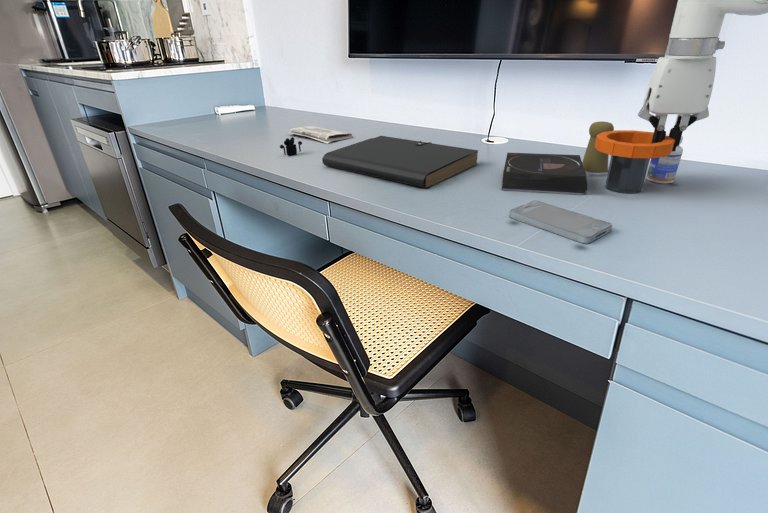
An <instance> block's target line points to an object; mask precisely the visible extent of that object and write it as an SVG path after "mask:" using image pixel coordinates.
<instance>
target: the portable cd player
mask: <svg viewBox="0 0 768 513" xmlns="http://www.w3.org/2000/svg"><path fill="white" fill-rule="evenodd" d="M582 162H583V160H582V158H581V155H580V154H561V153H560V154H559V153H557V154H555V153H534V152H533V153H529V152H507V153H506V157H505V162H504V168H503V173H502V181H501V182H502V183H501V191H511V192H512V191H513V192H527V193H529V192H530V193H544V194H545V193H546V194H559V195H561V194H562V195H578V196H579V195H580V196H583V195H585V193H586V192H587V191H588V175H587V173H586V171H585V170H584V167H583V164H582Z"/></svg>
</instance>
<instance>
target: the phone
mask: <svg viewBox="0 0 768 513" xmlns="http://www.w3.org/2000/svg"><path fill="white" fill-rule="evenodd" d="M509 218H510V219H513V220H516V221H518V222H521V223H525V224H527V225H530V226H532V227H536V228H538V229H541V230H543V231H547V232H549V233H552V234H555V235H558V236H561V237H564V238H566V239H568V240H569V239H570V240H572V241H575V242H577V243H581V244H585V245H588V244H591V243H593V242H595V241H596V240H598V239H600V238H602V237H603V236H605V235H608V234H609V233H611V231H612V229H613V223H611V222H609V221H606V220H601V219H600V218H599V219H598V218H595V217H592V216H589V215H587V214H582V213H579V212H575V211H573V210H569V209H567V208H566V209H565V208H562V207H560V206H556V205H553V204H549V203H546V202H543V201H539V200H532V201H529V202H526V203H523V204H521V205H519V206H517V207H513V208H511V209H510V210H509Z"/></svg>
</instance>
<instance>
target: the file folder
mask: <svg viewBox="0 0 768 513" xmlns="http://www.w3.org/2000/svg"><path fill="white" fill-rule="evenodd" d="M478 154H479V150H478V149H472V148H466V147H459V146H453V145H446V144H440V143H439V144H437V143H432V142H426V141H422V140H420V141H419V140H413V139H412V140H411V139H406V138H399V137H391V136H386V135H379V136H376V137H372V138H368V139H365V140H362V141H359V142H356V143H352V144H350V145H347V146H343V147H340V148H337V149H334V150H331V151H328V152H326V153H325V154H324V155H323V156H322V164H323V165H324V166H327V167H331V168H335V169H340V170H345V171H348V172H353V173H358V174H361V175H367V176H371V177H374V178H375V177H376V178H379V179H383V180H388V181H392V182H398V183H402V184H406V185H411V186H415V187H419V188H423V189H430V188H432V187H434V186H436V185H438V184H440V183H442V182H444V181H446V180H448V179H450V178H452V177H454V176H457V175H458V174H460V173H462V172H465V171H467V170H469V169H470V168H473V167H475V166H477V165H478Z"/></svg>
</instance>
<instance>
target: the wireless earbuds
mask: <svg viewBox="0 0 768 513" xmlns="http://www.w3.org/2000/svg"><path fill="white" fill-rule="evenodd" d="M297 144H298V149H297ZM297 144H296V143H295V138H294V137H293V136H292V137H290V138H288V137H287V138H285V140H284V141H283V144H280V145H279V148H280V149H281V150H283V154H284V156H286V155H287V156H290V157H291V156H294V155H295V156H296V155H297V153H298V151H299V153H301V152H302V149H301V145H303V142H302V140H299V141H297Z"/></svg>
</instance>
